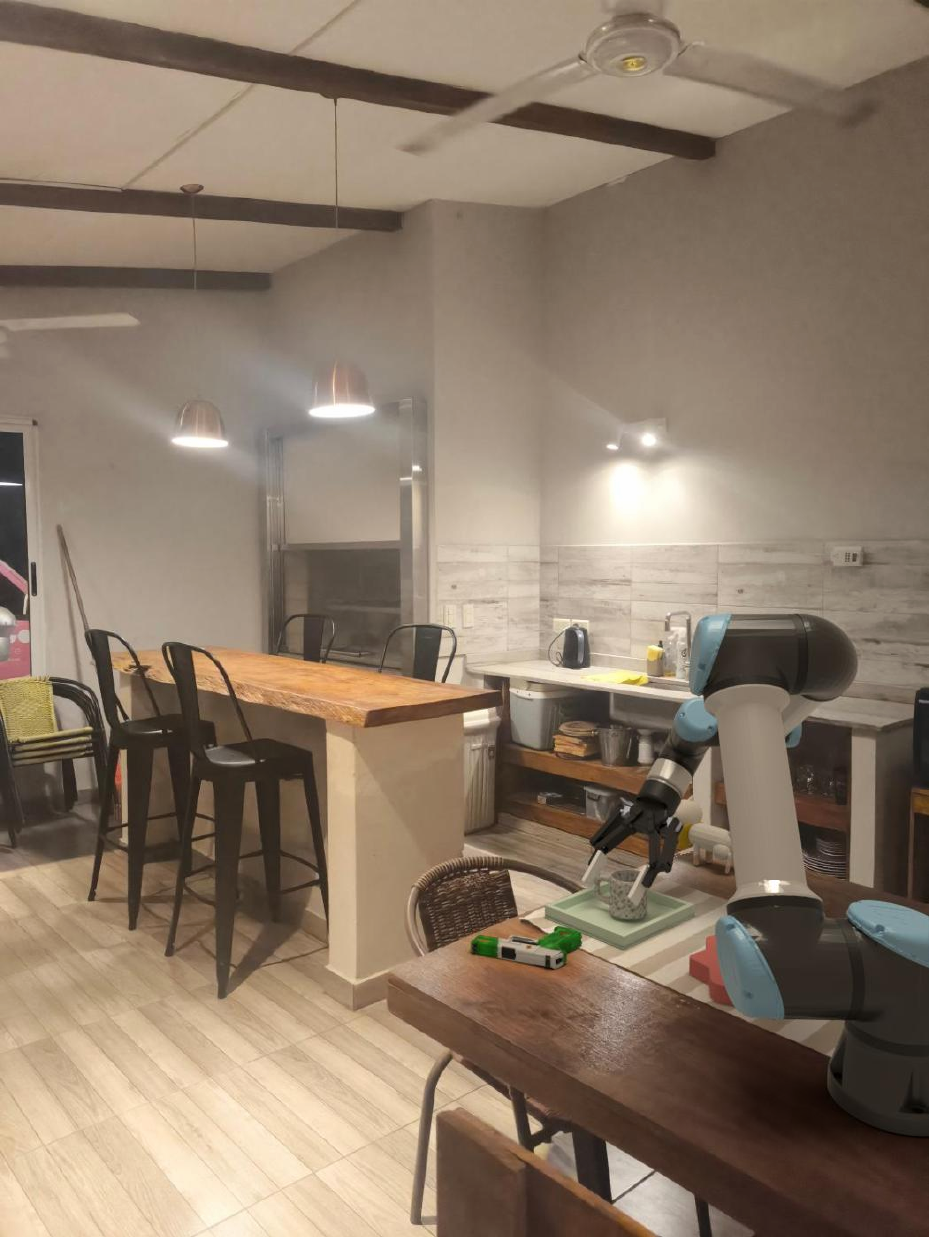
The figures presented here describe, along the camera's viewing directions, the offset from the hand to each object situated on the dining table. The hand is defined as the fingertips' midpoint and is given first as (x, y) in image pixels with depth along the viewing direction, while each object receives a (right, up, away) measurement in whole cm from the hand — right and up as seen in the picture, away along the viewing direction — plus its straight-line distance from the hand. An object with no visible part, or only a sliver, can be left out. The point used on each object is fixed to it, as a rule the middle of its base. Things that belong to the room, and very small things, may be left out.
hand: (608, 892), depth 166 cm
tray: (+2, -5, +3) cm, 6 cm away
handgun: (-15, -7, -10) cm, 19 cm away
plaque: (+17, -8, -20) cm, 28 cm away
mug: (+2, -4, +2) cm, 5 cm away
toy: (+26, -3, +27) cm, 38 cm away
